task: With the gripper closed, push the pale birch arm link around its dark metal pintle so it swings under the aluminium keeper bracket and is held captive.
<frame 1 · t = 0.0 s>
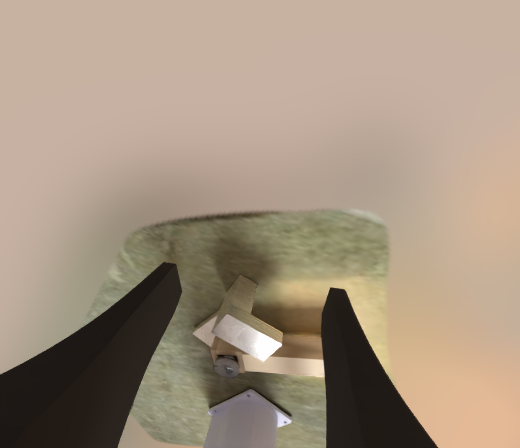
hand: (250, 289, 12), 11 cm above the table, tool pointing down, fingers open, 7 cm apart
keeper: (241, 288, 26), on the table
pintle base: (236, 332, 29), on the table
link: (276, 353, 26), point 2 cm above the table, hinge at -40.0°
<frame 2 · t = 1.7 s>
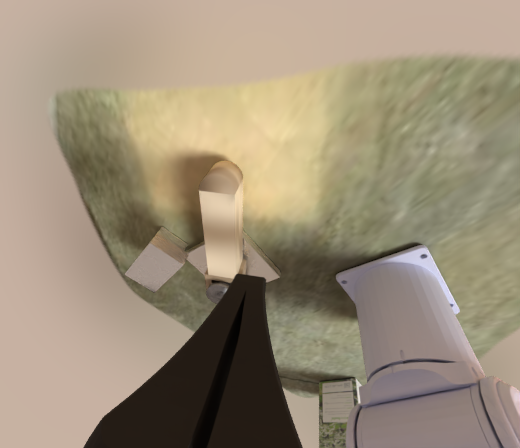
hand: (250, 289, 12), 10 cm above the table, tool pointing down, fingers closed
keeper: (170, 240, 26), on the table
pintle base: (232, 261, 26), on the table
link: (224, 239, 22), point 2 cm above the table, hinge at -40.0°
syrup box: (344, 385, 38), on the table
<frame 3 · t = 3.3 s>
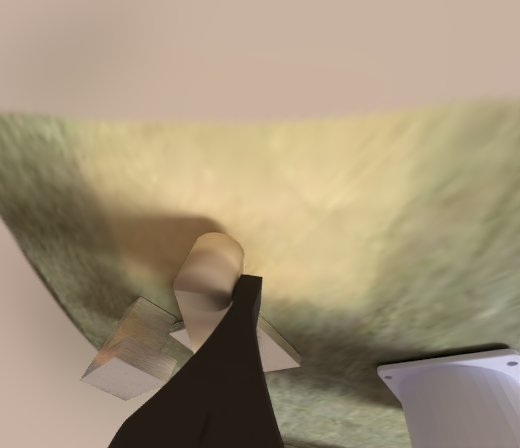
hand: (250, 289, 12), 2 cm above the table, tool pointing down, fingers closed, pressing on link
keeper: (152, 311, 19), on the table
pintle base: (236, 339, 20), on the table
link: (222, 333, 15), point 2 cm above the table, hinge at -34.6°, touching gripper
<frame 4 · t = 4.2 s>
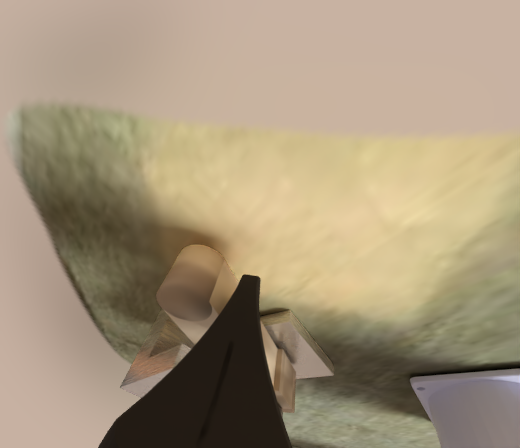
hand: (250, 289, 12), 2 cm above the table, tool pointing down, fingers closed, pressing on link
keeper: (185, 315, 18), on the table
pintle base: (269, 346, 19), on the table
link: (237, 341, 15), point 2 cm above the table, hinge at -10.9°, touching gripper
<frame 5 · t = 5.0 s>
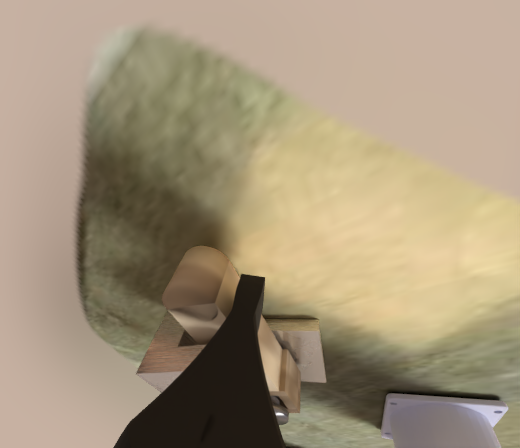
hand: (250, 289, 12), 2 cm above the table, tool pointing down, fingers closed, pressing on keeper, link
keeper: (201, 302, 17), on the table
pintle base: (274, 346, 19), on the table
link: (242, 342, 15), point 2 cm above the table, hinge at 8.7°, touching gripper
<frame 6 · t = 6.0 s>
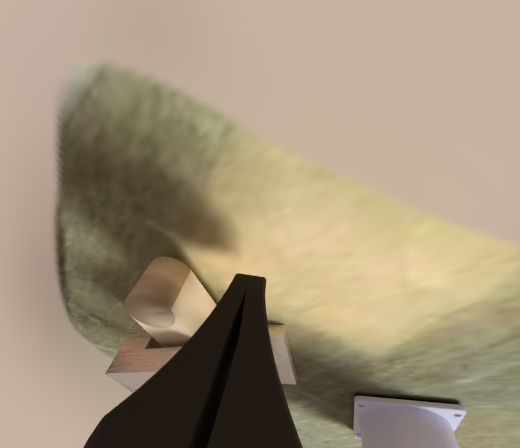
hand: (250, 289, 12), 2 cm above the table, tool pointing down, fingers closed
keeper: (175, 307, 18), on the table
pintle base: (246, 349, 20), on the table
link: (208, 345, 16), point 2 cm above the table, hinge at 9.7°
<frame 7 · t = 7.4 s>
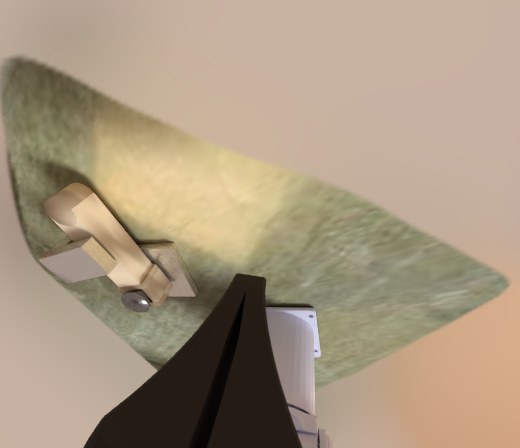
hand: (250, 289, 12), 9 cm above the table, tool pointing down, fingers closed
keeper: (99, 232, 25), on the table
pintle base: (157, 269, 28), on the table
link: (114, 251, 23), point 2 cm above the table, hinge at 9.7°
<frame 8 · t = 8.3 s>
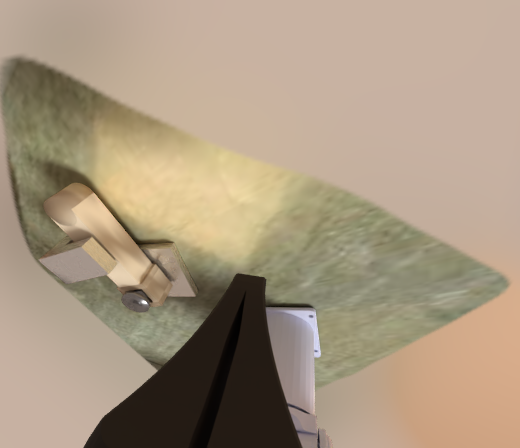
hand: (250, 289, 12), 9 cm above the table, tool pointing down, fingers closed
keeper: (99, 232, 25), on the table
pintle base: (157, 269, 28), on the table
link: (114, 251, 23), point 2 cm above the table, hinge at 9.7°
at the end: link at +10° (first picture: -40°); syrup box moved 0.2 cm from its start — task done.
